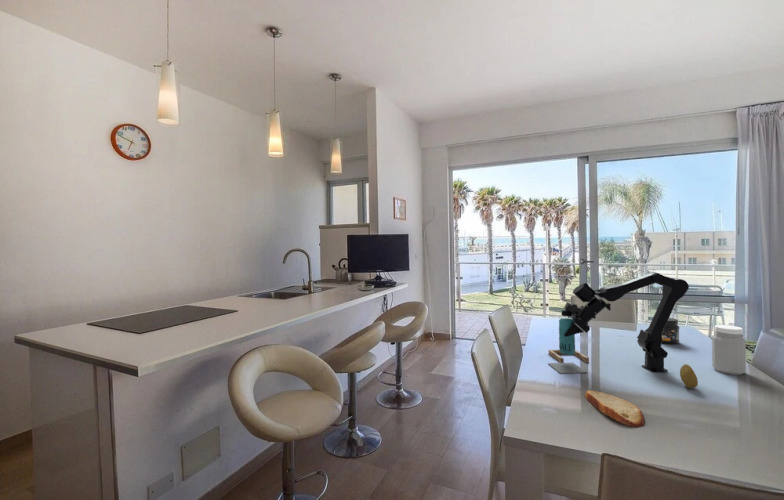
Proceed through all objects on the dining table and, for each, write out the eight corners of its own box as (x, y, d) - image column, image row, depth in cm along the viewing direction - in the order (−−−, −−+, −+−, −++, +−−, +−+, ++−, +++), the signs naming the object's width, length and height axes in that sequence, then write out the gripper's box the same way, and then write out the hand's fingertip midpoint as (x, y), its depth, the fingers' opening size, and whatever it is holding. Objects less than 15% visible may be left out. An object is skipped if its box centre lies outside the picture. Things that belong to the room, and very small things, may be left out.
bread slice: (586, 393, 125) (586, 383, 125) (648, 408, 114) (648, 396, 113) (573, 412, 112) (573, 401, 112) (642, 431, 100) (642, 418, 100)
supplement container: (649, 340, 185) (649, 318, 185) (661, 338, 189) (660, 316, 189) (672, 345, 175) (672, 322, 175) (683, 342, 180) (683, 319, 180)
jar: (752, 376, 136) (752, 330, 135) (723, 375, 138) (723, 329, 137) (733, 367, 145) (733, 324, 145) (706, 366, 147) (706, 323, 147)
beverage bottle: (572, 353, 156) (571, 308, 156) (578, 358, 150) (577, 312, 149) (556, 353, 157) (556, 309, 157) (562, 358, 151) (561, 312, 150)
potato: (693, 392, 123) (693, 370, 123) (670, 384, 130) (670, 363, 130) (707, 390, 125) (707, 367, 125) (684, 382, 132) (684, 361, 132)
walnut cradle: (588, 362, 155) (588, 357, 155) (561, 363, 155) (560, 358, 155) (574, 353, 168) (574, 349, 168) (548, 354, 168) (548, 349, 168)
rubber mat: (586, 373, 143) (586, 371, 143) (560, 373, 143) (560, 372, 143) (573, 363, 154) (573, 362, 154) (548, 364, 154) (548, 363, 154)
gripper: (572, 293, 161) (546, 316, 164) (580, 299, 143) (551, 325, 147) (592, 310, 158) (565, 333, 162) (602, 319, 140) (572, 345, 144)
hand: (563, 333), depth 154 cm, fingers closed on beverage bottle, 6 cm apart
